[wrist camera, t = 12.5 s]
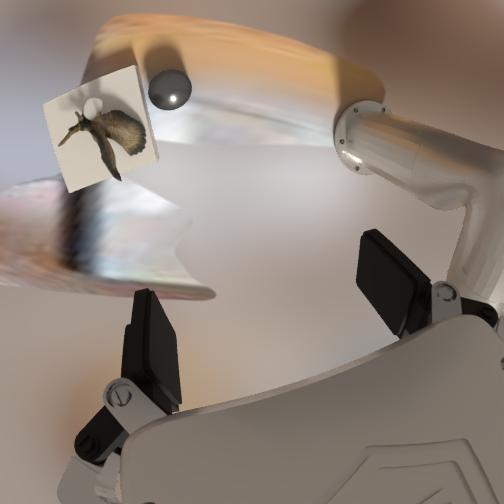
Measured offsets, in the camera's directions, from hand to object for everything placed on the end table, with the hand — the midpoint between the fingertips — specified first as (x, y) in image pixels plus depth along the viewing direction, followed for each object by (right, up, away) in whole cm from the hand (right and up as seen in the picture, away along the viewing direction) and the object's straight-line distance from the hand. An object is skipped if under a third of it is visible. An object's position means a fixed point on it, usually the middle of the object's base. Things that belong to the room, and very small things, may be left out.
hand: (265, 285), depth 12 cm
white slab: (-20, +18, +18) cm, 32 cm away
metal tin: (-11, +22, +18) cm, 30 cm away
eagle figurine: (-18, +16, +16) cm, 28 cm away
